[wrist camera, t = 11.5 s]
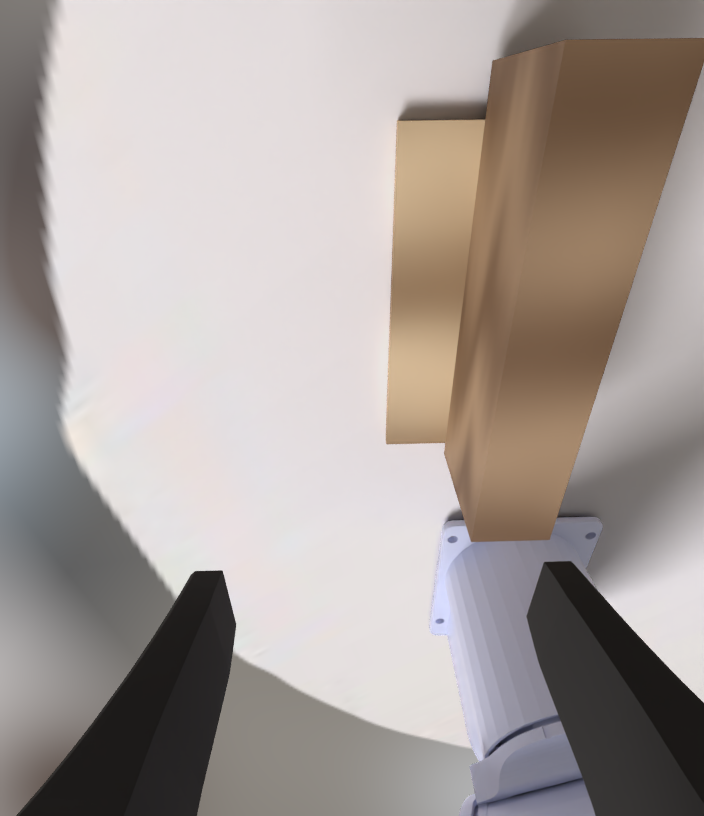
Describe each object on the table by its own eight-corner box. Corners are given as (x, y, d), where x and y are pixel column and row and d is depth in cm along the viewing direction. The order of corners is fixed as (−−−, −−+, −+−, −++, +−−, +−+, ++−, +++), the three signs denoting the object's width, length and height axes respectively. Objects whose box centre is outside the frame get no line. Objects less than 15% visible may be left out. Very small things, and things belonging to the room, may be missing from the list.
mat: (565, 434, 21) (568, 439, 20) (385, 438, 21) (386, 443, 20) (659, 116, 14) (666, 117, 14) (397, 120, 14) (398, 120, 14)
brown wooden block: (506, 452, 21) (549, 539, 16) (444, 453, 21) (470, 542, 16) (591, 59, 13) (711, 37, 9) (492, 60, 13) (565, 39, 9)
